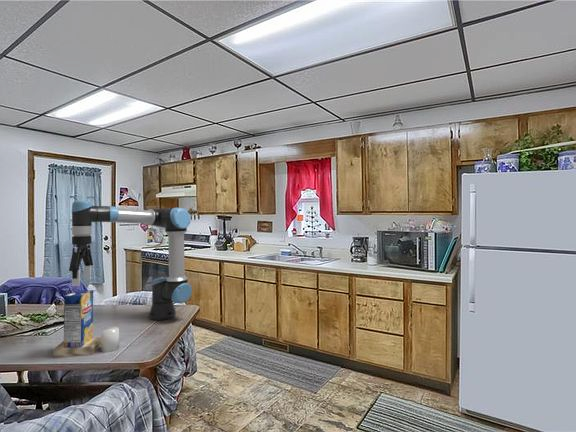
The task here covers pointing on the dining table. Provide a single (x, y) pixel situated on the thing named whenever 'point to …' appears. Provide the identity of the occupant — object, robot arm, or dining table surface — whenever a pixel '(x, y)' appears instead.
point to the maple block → (77, 349)
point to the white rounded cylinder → (110, 339)
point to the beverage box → (78, 318)
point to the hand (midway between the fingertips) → (81, 282)
